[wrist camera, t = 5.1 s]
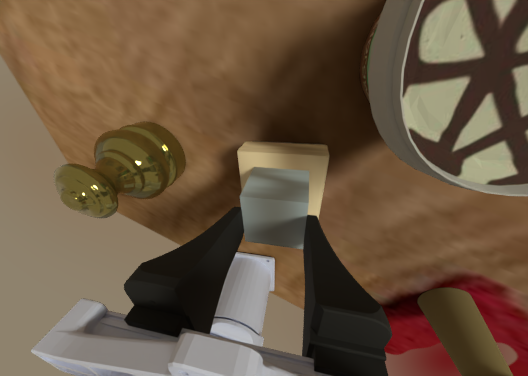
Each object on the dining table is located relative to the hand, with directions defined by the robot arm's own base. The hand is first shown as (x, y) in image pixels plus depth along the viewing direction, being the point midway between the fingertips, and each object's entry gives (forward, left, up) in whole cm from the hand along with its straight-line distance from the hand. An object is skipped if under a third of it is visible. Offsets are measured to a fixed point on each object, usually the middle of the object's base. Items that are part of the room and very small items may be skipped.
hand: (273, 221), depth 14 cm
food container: (+7, +9, -9) cm, 14 cm away
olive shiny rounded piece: (-15, +1, -9) cm, 17 cm away
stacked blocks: (0, 0, -6) cm, 6 cm away
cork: (+22, -18, -9) cm, 30 cm away
